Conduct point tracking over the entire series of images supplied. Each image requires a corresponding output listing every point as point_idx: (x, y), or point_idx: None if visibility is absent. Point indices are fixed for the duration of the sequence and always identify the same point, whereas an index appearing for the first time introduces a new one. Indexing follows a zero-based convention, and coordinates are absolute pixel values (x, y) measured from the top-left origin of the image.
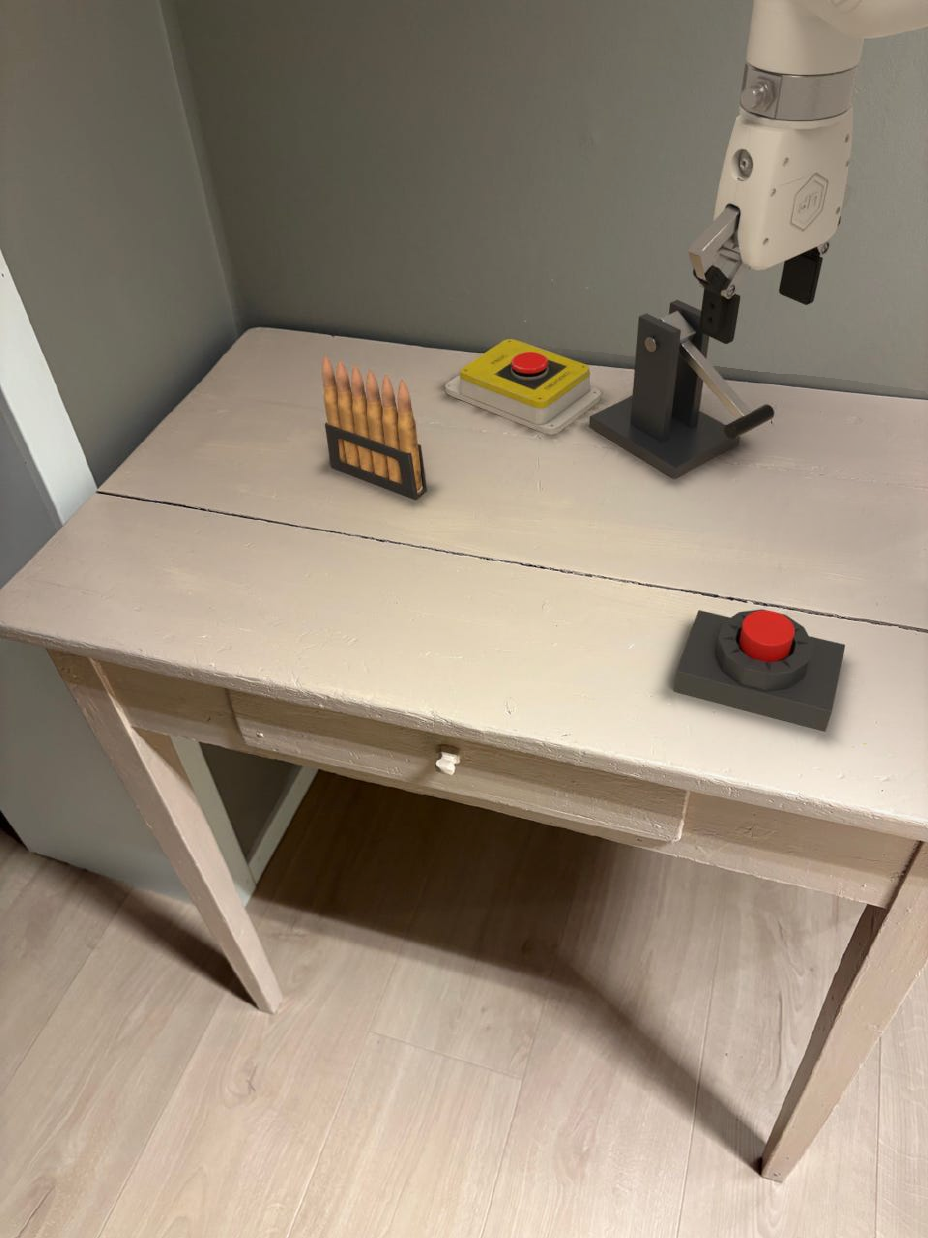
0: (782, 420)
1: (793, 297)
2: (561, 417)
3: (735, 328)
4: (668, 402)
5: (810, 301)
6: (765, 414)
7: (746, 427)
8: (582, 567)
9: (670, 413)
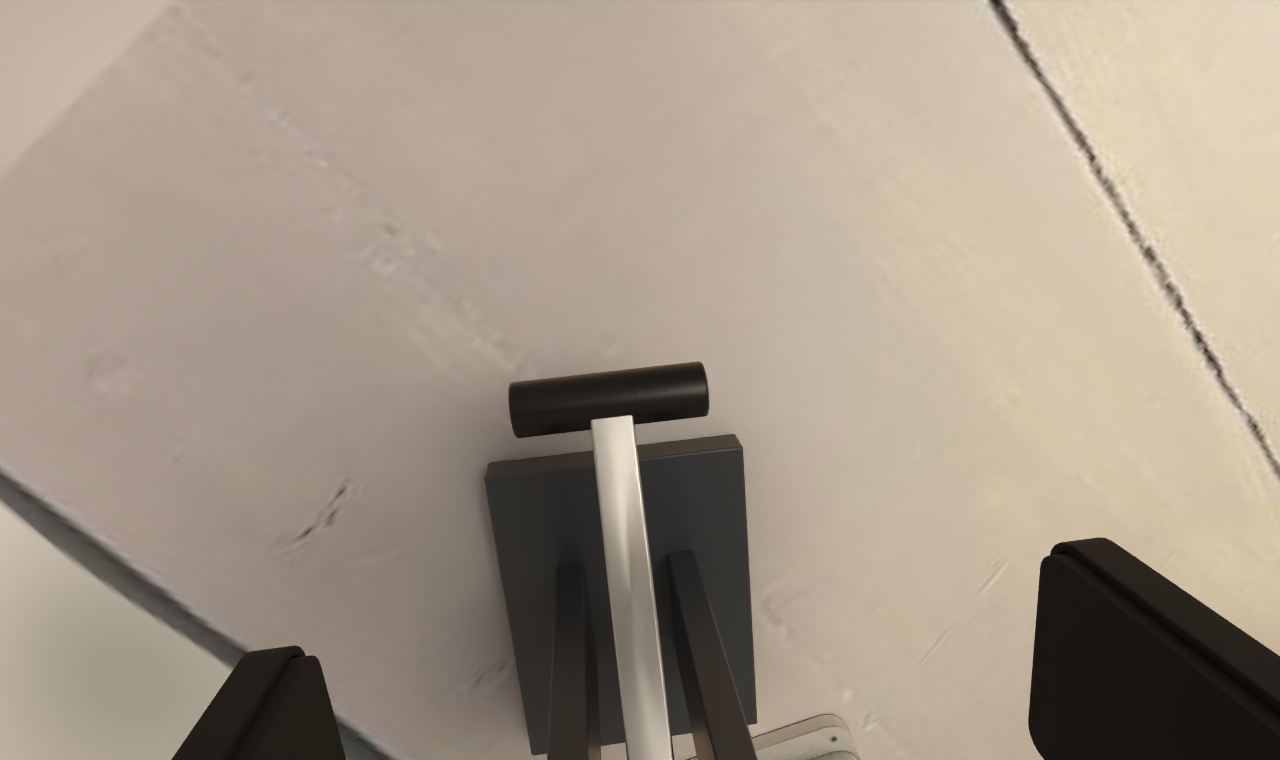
0: (305, 483)
1: (337, 749)
2: (793, 754)
3: (1102, 594)
4: (705, 625)
5: (282, 652)
6: (553, 389)
7: (655, 371)
8: (1138, 286)
9: (684, 600)
